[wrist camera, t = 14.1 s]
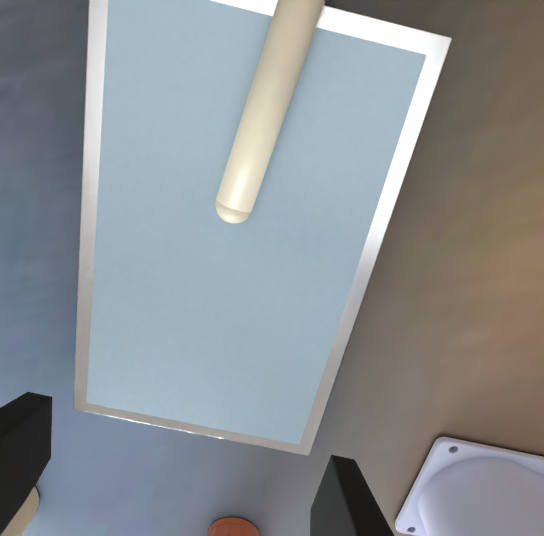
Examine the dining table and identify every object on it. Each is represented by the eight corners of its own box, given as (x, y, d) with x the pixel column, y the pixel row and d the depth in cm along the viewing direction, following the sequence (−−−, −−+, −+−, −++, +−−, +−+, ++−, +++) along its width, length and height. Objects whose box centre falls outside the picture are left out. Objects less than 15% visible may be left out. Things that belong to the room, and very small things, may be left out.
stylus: (248, 224, 17) (343, -45, 13) (242, 233, 16) (347, -68, 12) (215, 211, 17) (301, -62, 13) (205, 218, 16) (299, -88, 12)
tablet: (445, 41, 15) (454, 36, 14) (308, 446, 23) (309, 457, 22) (99, -48, 14) (89, -57, 14) (79, 401, 22) (71, 410, 21)
